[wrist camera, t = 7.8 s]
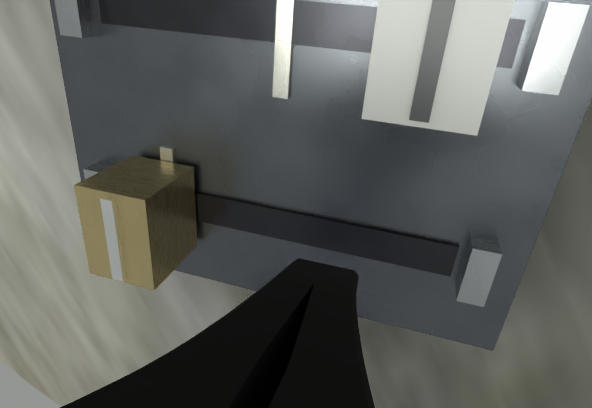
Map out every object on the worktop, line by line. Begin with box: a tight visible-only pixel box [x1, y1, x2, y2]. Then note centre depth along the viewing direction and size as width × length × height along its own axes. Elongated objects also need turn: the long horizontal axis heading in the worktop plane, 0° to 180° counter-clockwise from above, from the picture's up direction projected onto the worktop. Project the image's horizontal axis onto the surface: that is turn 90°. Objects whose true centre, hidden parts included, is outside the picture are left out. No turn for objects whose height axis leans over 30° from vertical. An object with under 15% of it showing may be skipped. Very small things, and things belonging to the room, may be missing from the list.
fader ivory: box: [361, 0, 515, 136], centre depth 12 cm, size 4×3×4 cm
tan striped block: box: [74, 155, 197, 290], centre depth 18 cm, size 4×3×4 cm
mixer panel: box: [50, 0, 592, 351], centre depth 17 cm, size 16×20×2 cm
